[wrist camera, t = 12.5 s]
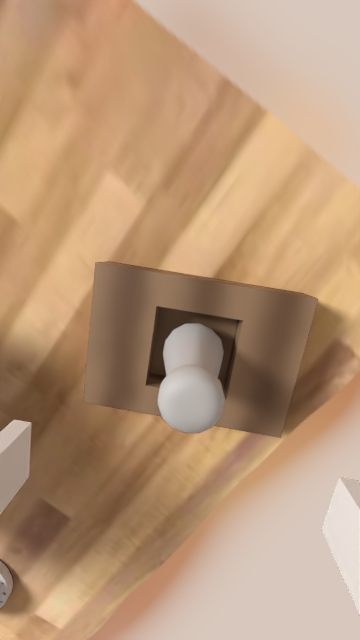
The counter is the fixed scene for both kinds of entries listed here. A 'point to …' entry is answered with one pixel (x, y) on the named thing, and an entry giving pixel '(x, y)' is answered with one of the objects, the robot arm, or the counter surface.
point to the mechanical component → (5, 584)
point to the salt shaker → (192, 379)
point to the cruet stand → (209, 310)
